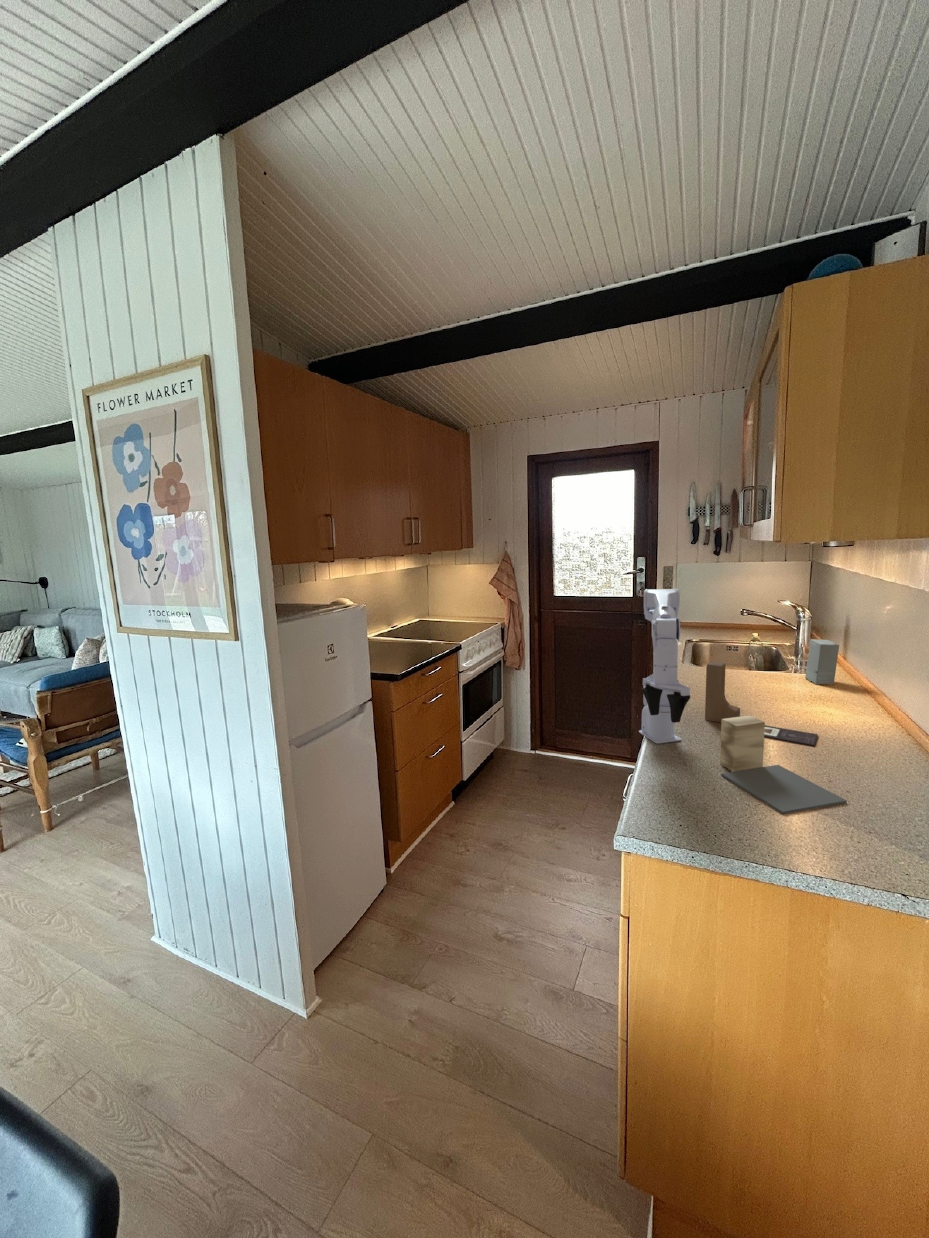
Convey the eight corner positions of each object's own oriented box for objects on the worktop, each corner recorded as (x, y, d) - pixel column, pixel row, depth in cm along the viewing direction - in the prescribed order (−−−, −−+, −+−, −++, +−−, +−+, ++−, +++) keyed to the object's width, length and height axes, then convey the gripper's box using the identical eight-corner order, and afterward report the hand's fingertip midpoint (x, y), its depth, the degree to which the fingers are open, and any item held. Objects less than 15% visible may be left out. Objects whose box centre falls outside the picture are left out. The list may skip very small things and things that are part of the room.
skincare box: (804, 678, 195) (807, 639, 192) (825, 678, 193) (827, 638, 191) (815, 685, 186) (818, 643, 184) (837, 685, 185) (840, 643, 183)
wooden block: (739, 721, 155) (742, 664, 152) (736, 725, 151) (738, 668, 148) (708, 715, 160) (710, 661, 158) (704, 720, 157) (706, 664, 154)
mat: (721, 775, 121) (721, 773, 121) (778, 766, 124) (778, 764, 124) (782, 814, 103) (782, 811, 103) (846, 802, 107) (846, 800, 106)
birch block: (720, 764, 127) (721, 718, 125) (747, 760, 129) (749, 715, 127) (734, 772, 122) (736, 725, 120) (762, 768, 124) (764, 722, 122)
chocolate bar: (814, 744, 134) (739, 731, 146) (814, 748, 135) (739, 734, 146) (817, 734, 141) (745, 722, 153) (817, 737, 141) (745, 724, 153)
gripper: (633, 662, 132) (633, 713, 133) (673, 670, 119) (673, 727, 120) (655, 660, 135) (654, 710, 136) (696, 668, 121) (696, 724, 122)
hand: (664, 718), depth 128 cm, fingers open, 7 cm apart
